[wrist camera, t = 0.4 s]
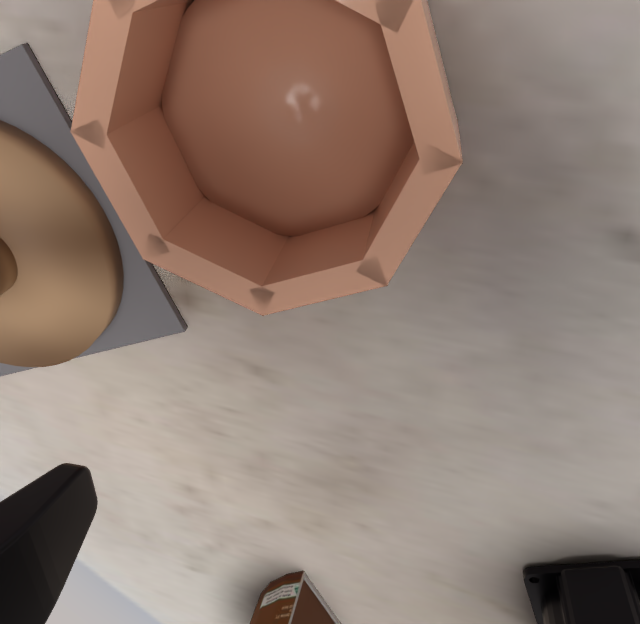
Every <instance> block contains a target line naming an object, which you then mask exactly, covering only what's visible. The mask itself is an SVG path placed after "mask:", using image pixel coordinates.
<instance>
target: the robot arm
mask: <svg viewBox="0 0 640 624" xmlns="http://www.w3.org/2000/svg"><path fill="white" fill-rule="evenodd" d="M96 510H97V496H96V492H95V488H94V484H93V480H92V476H91V472H90V470H89V469H88V468H87V467H86V466H81V465H76V464H70V463H64V464H61V465H59V466H57V467H55V468H54V469H52V470H51V471H49V472H47V473H46V474H44V475H43V476H41V477H39V478H38V479H36V480H35V481H33V482H31V483H30V484H28V485H27V486H25V487H23V488H22V489H20V490H19V491H17V492H15V493H14V494H12V495H11V496H9V497H8V498H6V499H4V500H3V501H1V502H0V624H45V623H46V621H47V619H48V617H49V615H50V613H51V612H52V610H53V608H54V606H55V604H56V602H57V600H58V598H59V596H60V593H61V591H62V589H63V587H64V585H65V582H66V580H67V578H68V575H69V573H70V571H71V569H72V566H73V564H74V562H75V559H76V557H77V555H78V553H79V550H80V548H81V546H82V543H83V541H84V539H85V536H86V534H87V532H88V530H89V527H90V525H91V523H92V520H93V518H94V516H95V513H96ZM523 577H524V582H525V585H526V589H527V592H528V595H529V598H530V601H531V605H532V608H533V611H534V614H535V617H536V621H537V624H640V560H632V561H616V562H600V563H585V564H569V565H554V566H538V567H528V568H526V569H524V571H523Z"/></svg>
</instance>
